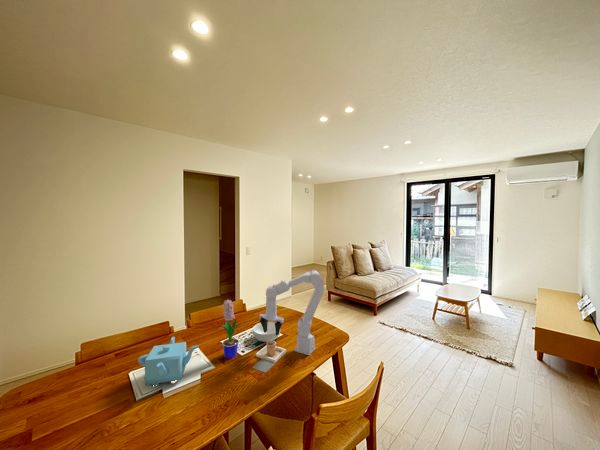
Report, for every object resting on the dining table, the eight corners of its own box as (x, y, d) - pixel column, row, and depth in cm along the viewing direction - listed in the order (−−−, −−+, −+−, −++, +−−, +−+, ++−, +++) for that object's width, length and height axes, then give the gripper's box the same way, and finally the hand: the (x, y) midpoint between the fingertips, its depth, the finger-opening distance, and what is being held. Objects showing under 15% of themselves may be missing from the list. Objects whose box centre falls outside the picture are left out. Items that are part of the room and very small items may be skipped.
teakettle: (134, 383, 104) (134, 350, 103) (175, 360, 120) (174, 332, 120) (159, 399, 94) (158, 363, 94) (199, 372, 111) (199, 341, 110)
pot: (278, 352, 126) (278, 341, 126) (272, 357, 122) (272, 346, 122) (270, 350, 129) (270, 339, 129) (264, 355, 124) (264, 343, 124)
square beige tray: (286, 352, 127) (286, 349, 127) (274, 363, 118) (274, 360, 118) (268, 346, 133) (268, 343, 133) (255, 357, 123) (255, 353, 123)
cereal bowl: (278, 346, 133) (278, 334, 133) (249, 346, 134) (249, 334, 133) (281, 332, 150) (281, 321, 150) (255, 332, 151) (255, 321, 150)
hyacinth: (237, 361, 119) (236, 303, 118) (218, 359, 121) (218, 301, 120) (244, 352, 128) (244, 297, 127) (227, 350, 130) (226, 296, 129)
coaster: (275, 364, 117) (275, 363, 117) (265, 373, 110) (265, 372, 110) (262, 359, 121) (262, 358, 121) (252, 368, 114) (252, 367, 114)
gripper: (286, 308, 129) (286, 332, 129) (264, 304, 135) (264, 327, 135) (280, 313, 122) (280, 338, 123) (257, 308, 128) (257, 333, 129)
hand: (271, 333), depth 128 cm, fingers open, 7 cm apart
